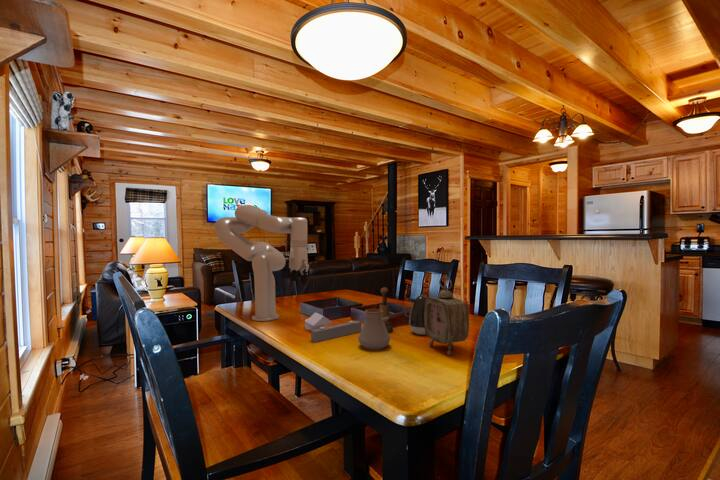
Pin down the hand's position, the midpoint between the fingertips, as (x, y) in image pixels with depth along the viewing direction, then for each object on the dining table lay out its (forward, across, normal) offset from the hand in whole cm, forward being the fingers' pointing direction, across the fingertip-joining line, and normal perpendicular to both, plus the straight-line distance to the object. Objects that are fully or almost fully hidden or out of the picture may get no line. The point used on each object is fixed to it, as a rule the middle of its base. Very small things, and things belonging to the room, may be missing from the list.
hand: (298, 282), depth 159 cm
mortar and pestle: (+18, +36, +21) cm, 45 cm away
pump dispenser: (+17, +47, +31) cm, 59 cm away
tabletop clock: (+17, +67, +23) cm, 72 cm away
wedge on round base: (+18, +15, +1) cm, 24 cm away
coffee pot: (+18, +53, +6) cm, 57 cm away
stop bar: (+18, +30, +2) cm, 35 cm away
